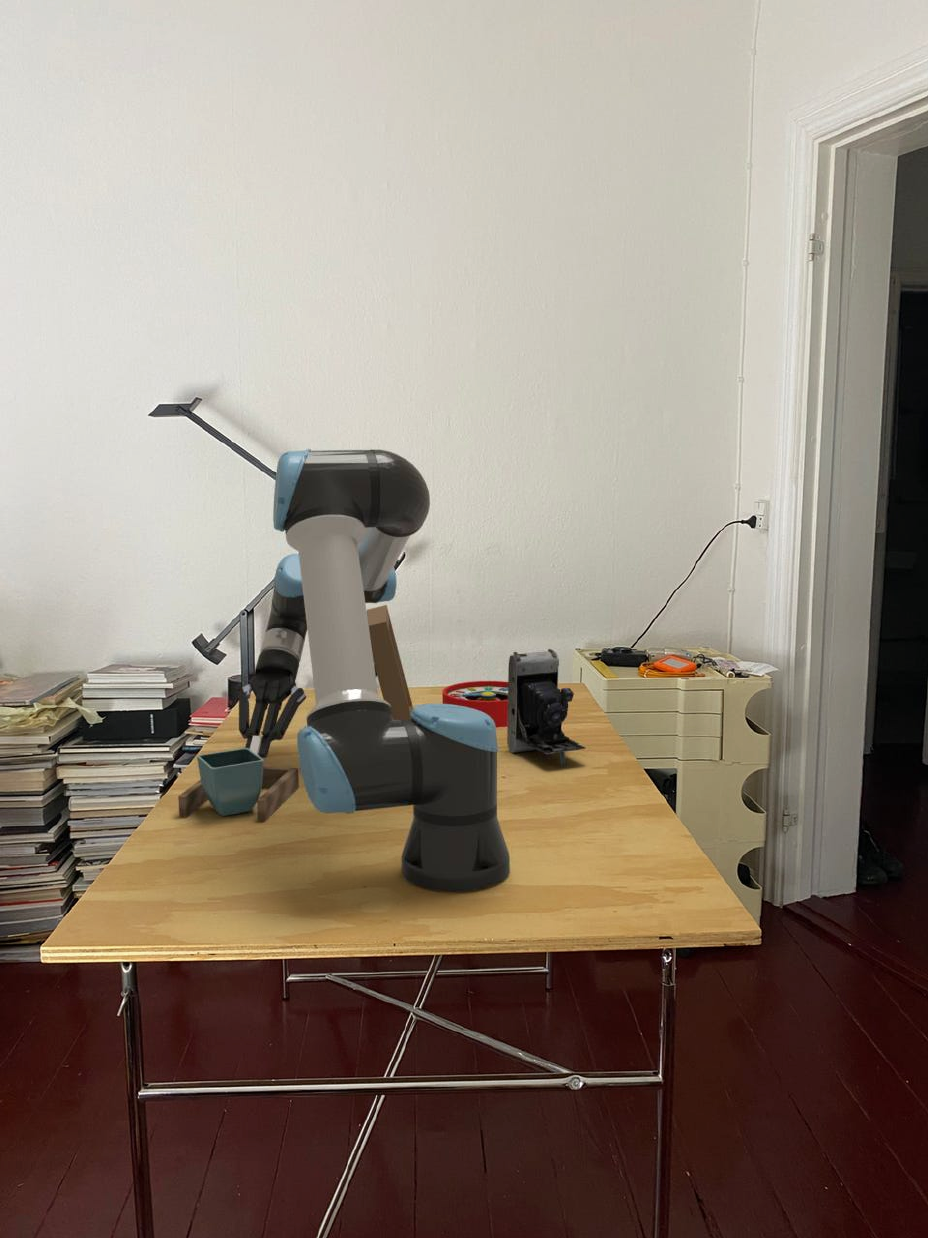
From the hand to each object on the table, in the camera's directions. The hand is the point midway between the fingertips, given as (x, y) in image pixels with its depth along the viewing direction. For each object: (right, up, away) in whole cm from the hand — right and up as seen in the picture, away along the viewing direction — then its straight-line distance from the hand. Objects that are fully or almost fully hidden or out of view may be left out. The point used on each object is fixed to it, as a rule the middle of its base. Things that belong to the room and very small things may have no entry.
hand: (250, 772), depth 182 cm
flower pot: (-1, -5, -8) cm, 10 cm away
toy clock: (+42, +5, +51) cm, 66 cm away
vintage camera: (+52, 0, +20) cm, 56 cm away
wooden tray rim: (-1, -4, -4) cm, 6 cm away
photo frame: (+19, +3, +39) cm, 44 cm away
